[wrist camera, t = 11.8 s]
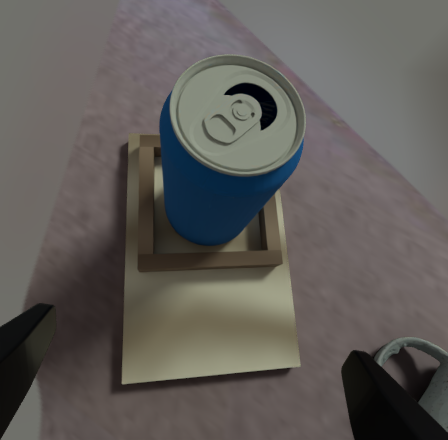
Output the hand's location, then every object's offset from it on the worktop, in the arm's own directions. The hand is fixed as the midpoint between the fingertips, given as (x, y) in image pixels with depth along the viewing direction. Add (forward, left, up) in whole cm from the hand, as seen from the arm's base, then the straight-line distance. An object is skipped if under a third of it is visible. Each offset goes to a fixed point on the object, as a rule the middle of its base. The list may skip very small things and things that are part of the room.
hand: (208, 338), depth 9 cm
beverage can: (+8, -2, -13) cm, 15 cm away
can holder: (+6, -2, -14) cm, 15 cm away
